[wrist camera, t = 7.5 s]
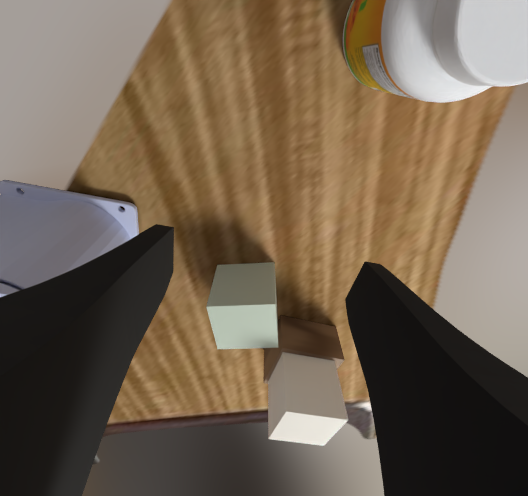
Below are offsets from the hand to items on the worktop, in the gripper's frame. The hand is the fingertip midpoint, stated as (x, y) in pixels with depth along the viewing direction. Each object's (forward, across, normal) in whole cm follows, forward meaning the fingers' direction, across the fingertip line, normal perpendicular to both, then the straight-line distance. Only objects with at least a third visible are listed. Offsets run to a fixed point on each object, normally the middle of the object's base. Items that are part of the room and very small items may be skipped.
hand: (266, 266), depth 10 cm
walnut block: (+11, -7, +17) cm, 21 cm away
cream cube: (+7, -7, +17) cm, 20 cm away
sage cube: (+10, 0, +11) cm, 15 cm away
